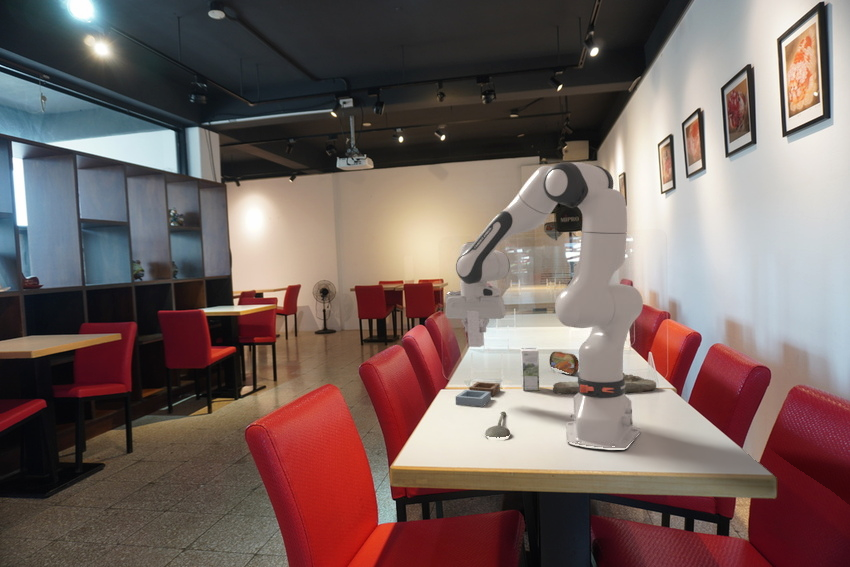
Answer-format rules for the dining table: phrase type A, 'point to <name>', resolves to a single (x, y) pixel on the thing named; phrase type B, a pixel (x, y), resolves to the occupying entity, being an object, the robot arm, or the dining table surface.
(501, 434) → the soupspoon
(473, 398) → the pair of square sockets
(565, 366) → the tin
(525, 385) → the syrup box
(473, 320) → the steel peg
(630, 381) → the elongated rock
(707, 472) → the dining table surface
